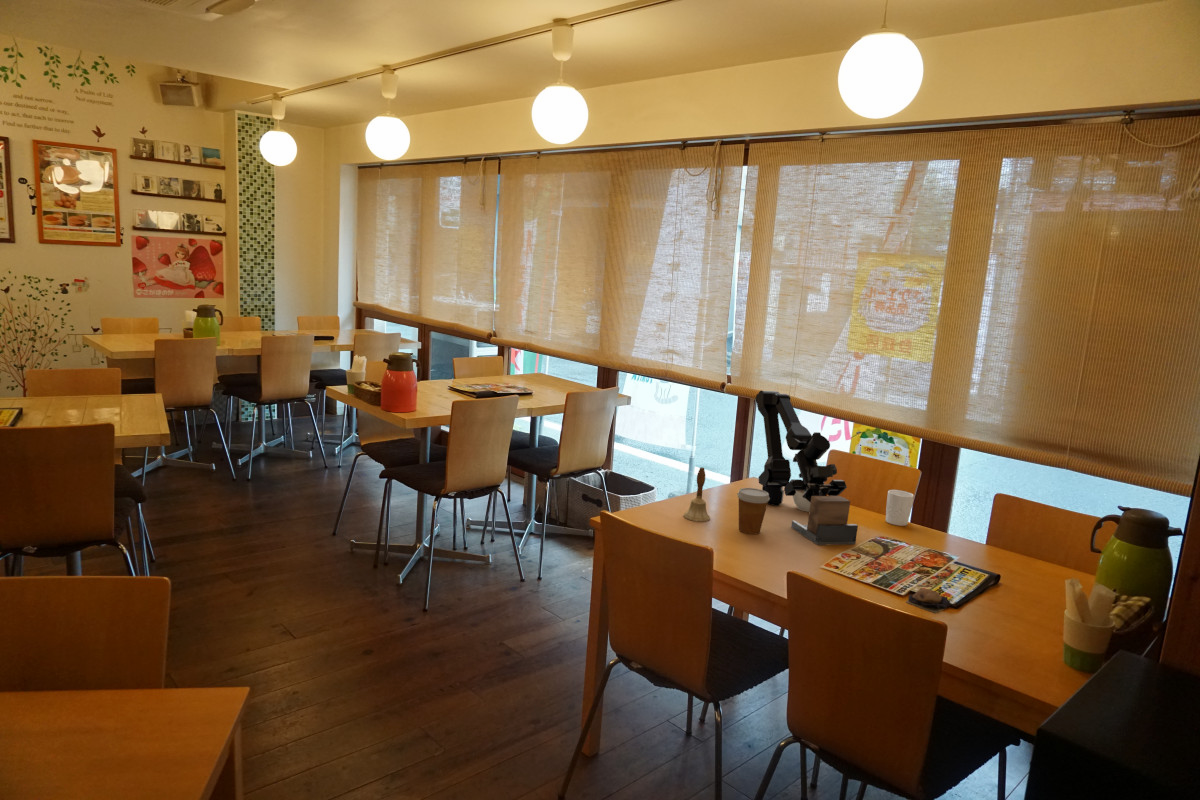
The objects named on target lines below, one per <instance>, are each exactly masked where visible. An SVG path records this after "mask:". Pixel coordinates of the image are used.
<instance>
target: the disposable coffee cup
mask: <svg viewBox="0 0 1200 800" xmlns="http://www.w3.org/2000/svg"><path fill="white" fill-rule="evenodd" d="M737 498H738V531H740V532H741V533H745V534H748V535H758V534H760V533H761V529H762V525H763V523H764V518H765V514H766V510H767V506H768V504H767V503H768V501H769V500H770V498H769V494H768V492H766V491H763V490H762V489H761V488H760V489H758V488H753V487H743V488H740V489H739V491H738V492H737Z"/></svg>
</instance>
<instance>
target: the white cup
mask: <svg viewBox="0 0 1200 800" xmlns="http://www.w3.org/2000/svg"><path fill="white" fill-rule="evenodd" d="M914 497H915V496H914V494H913V493H912V492H908V491H905V490H900V489H889V490H888V491H887V497H886V508H885V522H887V523H889V524H890V525H895V526H900V527H901V526H903V527H904V526H908V523H909V518H910V515H911V510H912V506H913V501H914Z"/></svg>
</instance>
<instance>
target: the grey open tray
mask: <svg viewBox="0 0 1200 800" xmlns="http://www.w3.org/2000/svg"><path fill="white" fill-rule="evenodd" d="M807 525H808V524H801V523H800V522H798V521H796V520H792V521H791V526H790V527H791V529H793V530H794V531H796V532H797V533H799V534H800V535H801V536H803V537H805V538H806V539H808V540H809V541H811V542H812V543H814V544H815V545H817V546H830V545H831V546H835V545H836V546H841V545H856V542H857V541H856V540H857V535H858V534H857V533H858V527H859V525H858V524H856V523H847V524H818V526H817V534H815V533H813V532H812V531H810V530H809V529H807Z"/></svg>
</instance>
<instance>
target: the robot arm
mask: <svg viewBox="0 0 1200 800" xmlns="http://www.w3.org/2000/svg"><path fill="white" fill-rule="evenodd" d="M755 403H756V407H757V410H758V412H759V413H760V414H761V416H762V417H763V423H764V433H765V442H766V450H767V459H766V461H765V462H764V466H763V468H764V469H763V471H762V473H760V474H759V476H758V484H759V485H762V489H761V490H763V491H766V492H768V494H769V498H770V500H769V501H768V503H767V505H770V506H775V507H779V506H780V505H781V504H782V503H783V502H784V495H785V496H786V497H791V496H792V497H793V496H794V495H795V494H796V491H795V490H803V491H804V495H803V496H802V497H803V498H806V499H807V500H808V501H809V502H810V503H811V496H841V494H842V493H843V492H844V491H845V490H846V489H847V488H848V486H847V482H846V481H845V480H842V479H832V480H831V481H830V482H829V483H825V482H827V481H828V478H833V477H834V476H835V475H837V474H838V471H837V470H838V469H837V466H836V465H835V463H831V464H830V463H829V464H827V465H818V462H817V460H820V459H821V458H822V456H824V455H825V454H826V452H827V451H828V450H829V449H830V448H831V447H830V446H831V443H830V440H828V438H826V437H825V436H823V435H822V434H821V432H818V431H817V432H813V433H811V432H810V430H809V429H808V428H807V427H805V426H804V425H802V423H801V421H800V420H799V417H798V415H797V413H796V411H795V408H794V407H793V404H792V402H791V397H790V394H788V393H780V392H779V391H776V390H760V391H759V392H758V393H756V395H755ZM779 416H780V417H779ZM779 418H780V419H781V421H782V423H783V425H784V428H785V431H786V435H785V441H786V444H787V446H788V447H787V448H788V449H789V450H791V451H798V452H797V453H795V454H794V456H793V458H792V462H793V463H797V467H798V470H799V474H798V477H799V479H794V478H793V479H791V477H792V473H791V472H792V471H791V470H792V469H791V462H790V459H786V458H785V457H784V454H783V447H782V446H783V445H782V438H781V437H782V436H781V428H780V421H779ZM783 488H784V489H783Z"/></svg>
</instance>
